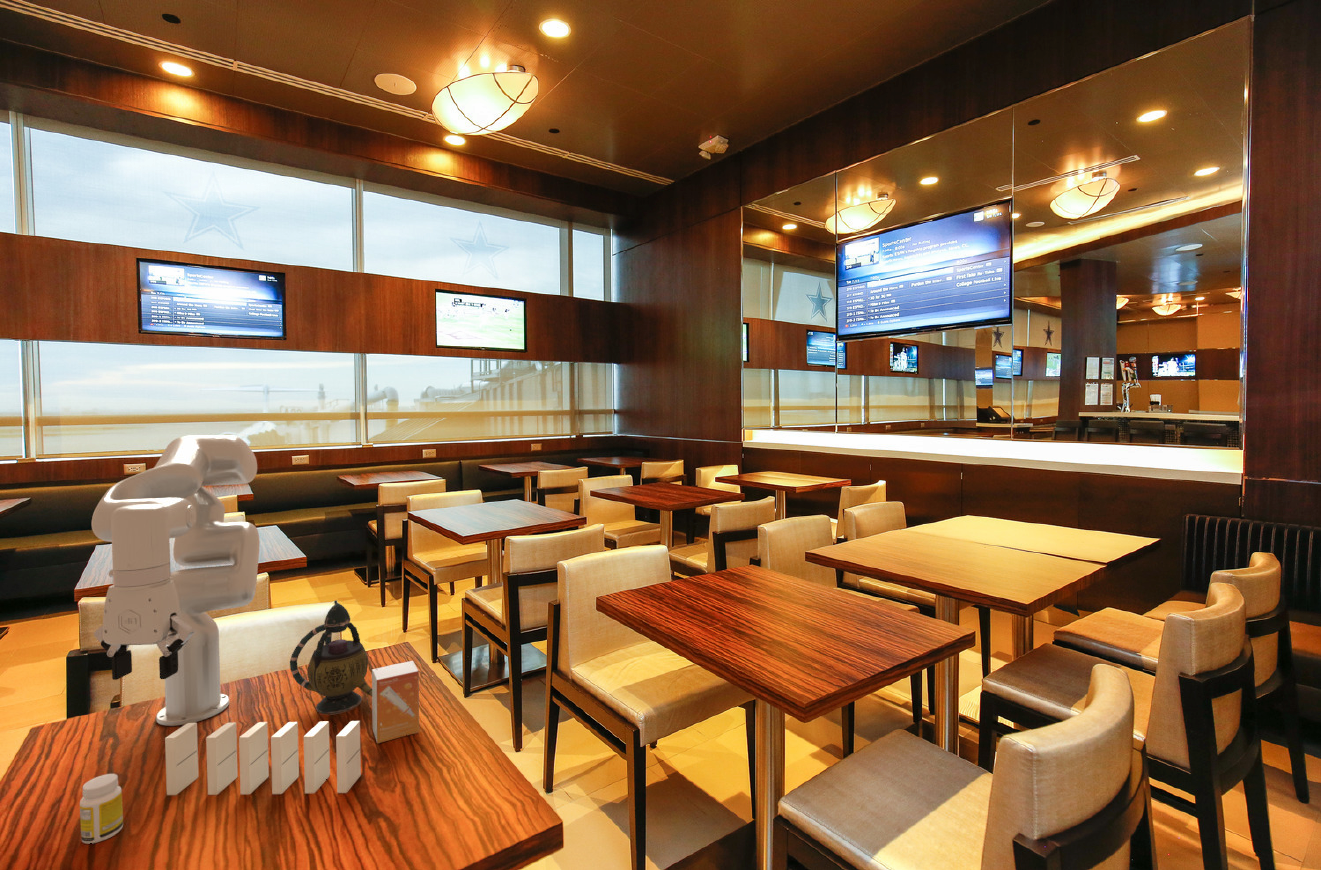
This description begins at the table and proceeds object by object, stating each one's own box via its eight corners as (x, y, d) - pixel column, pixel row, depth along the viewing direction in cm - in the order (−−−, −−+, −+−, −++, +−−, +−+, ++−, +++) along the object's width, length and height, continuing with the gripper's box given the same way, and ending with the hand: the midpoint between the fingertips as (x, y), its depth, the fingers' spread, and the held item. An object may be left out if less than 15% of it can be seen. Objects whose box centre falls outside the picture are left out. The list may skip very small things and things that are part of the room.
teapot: (333, 686, 142) (331, 591, 141) (415, 704, 133) (413, 602, 133) (285, 710, 131) (283, 606, 130) (372, 731, 122) (370, 619, 121)
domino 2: (207, 794, 102) (206, 737, 101) (228, 776, 107) (227, 722, 106) (217, 794, 102) (215, 737, 101) (237, 776, 107) (236, 722, 106)
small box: (376, 744, 117) (375, 680, 117) (372, 730, 122) (371, 668, 122) (420, 732, 121) (419, 670, 121) (413, 719, 127) (412, 659, 126)
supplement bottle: (127, 819, 95) (126, 768, 95) (117, 838, 91) (115, 785, 91) (88, 829, 93) (86, 777, 93) (75, 848, 89) (73, 794, 89)
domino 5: (304, 793, 102) (303, 736, 102) (320, 775, 107) (319, 721, 107) (314, 793, 102) (313, 736, 102) (330, 775, 107) (328, 721, 107)
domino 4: (272, 794, 102) (270, 737, 101) (289, 776, 107) (288, 721, 106) (281, 793, 102) (280, 736, 101) (299, 776, 107) (297, 721, 106)
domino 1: (166, 795, 102) (164, 738, 101) (189, 777, 107) (187, 722, 106) (176, 794, 102) (174, 737, 101) (198, 777, 107) (197, 722, 106)
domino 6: (337, 792, 102) (336, 736, 102) (351, 775, 107) (350, 721, 107) (346, 792, 102) (345, 736, 102) (360, 775, 107) (359, 721, 107)
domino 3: (240, 794, 102) (239, 737, 101) (259, 776, 107) (258, 722, 106) (250, 794, 102) (248, 737, 101) (268, 776, 107) (267, 722, 106)
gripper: (70, 582, 99) (74, 686, 99) (176, 581, 99) (179, 685, 100) (111, 570, 106) (114, 667, 107) (209, 569, 107) (212, 666, 107)
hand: (145, 675), depth 103 cm, fingers open, 7 cm apart
